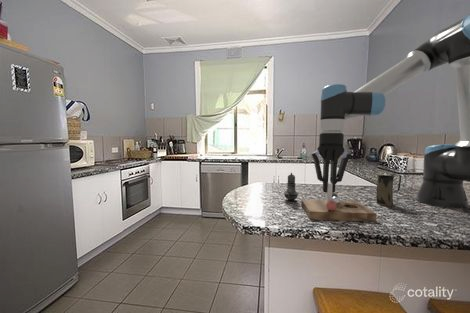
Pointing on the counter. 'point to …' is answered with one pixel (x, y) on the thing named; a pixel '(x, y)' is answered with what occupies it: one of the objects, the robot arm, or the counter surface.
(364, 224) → the counter surface
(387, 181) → the mug
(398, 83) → the robot arm
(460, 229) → the counter surface
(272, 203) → the counter surface
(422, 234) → the counter surface
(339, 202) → the steel ball
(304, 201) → the wooden board
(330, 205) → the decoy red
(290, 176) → the salt shaker
